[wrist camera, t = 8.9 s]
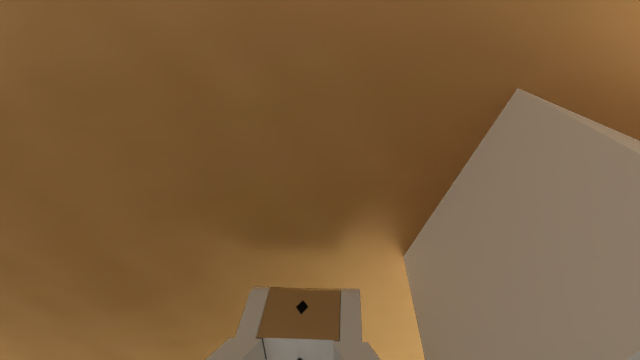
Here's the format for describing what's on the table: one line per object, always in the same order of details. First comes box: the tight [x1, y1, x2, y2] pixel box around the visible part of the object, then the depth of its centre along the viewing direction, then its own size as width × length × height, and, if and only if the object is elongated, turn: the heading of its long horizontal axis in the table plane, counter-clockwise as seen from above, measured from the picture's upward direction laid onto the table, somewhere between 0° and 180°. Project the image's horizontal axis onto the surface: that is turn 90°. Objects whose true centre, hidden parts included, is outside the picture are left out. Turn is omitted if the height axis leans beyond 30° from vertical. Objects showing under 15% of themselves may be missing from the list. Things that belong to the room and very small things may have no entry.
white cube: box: [403, 88, 640, 360], centre depth 7 cm, size 6×6×6 cm
